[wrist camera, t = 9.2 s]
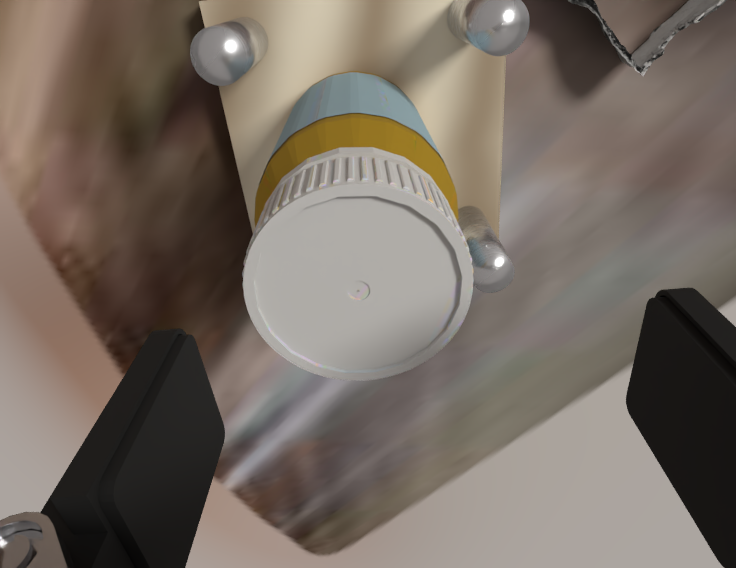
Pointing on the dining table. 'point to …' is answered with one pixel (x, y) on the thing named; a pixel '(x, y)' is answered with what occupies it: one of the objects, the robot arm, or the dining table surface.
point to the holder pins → (466, 22)
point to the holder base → (377, 56)
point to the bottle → (356, 236)
